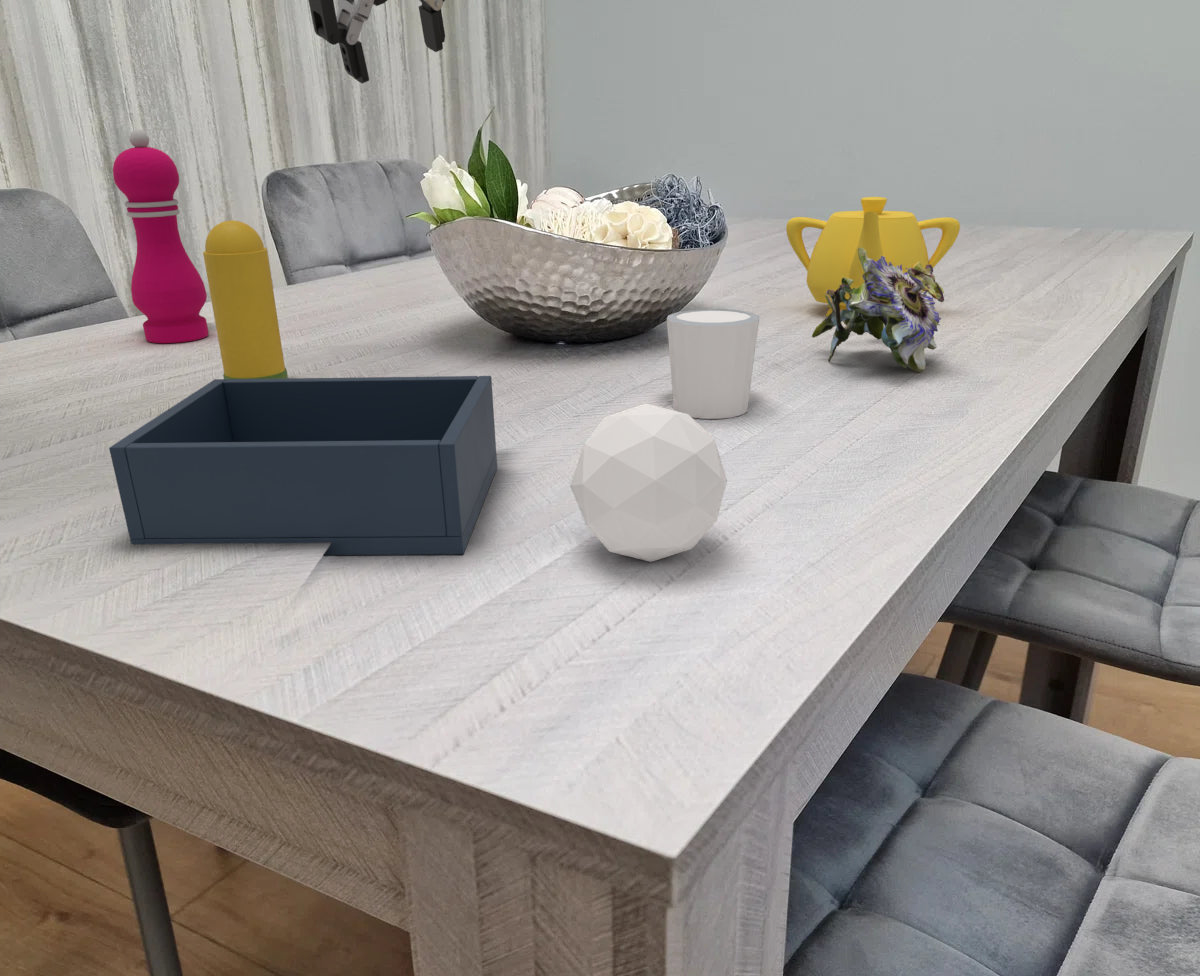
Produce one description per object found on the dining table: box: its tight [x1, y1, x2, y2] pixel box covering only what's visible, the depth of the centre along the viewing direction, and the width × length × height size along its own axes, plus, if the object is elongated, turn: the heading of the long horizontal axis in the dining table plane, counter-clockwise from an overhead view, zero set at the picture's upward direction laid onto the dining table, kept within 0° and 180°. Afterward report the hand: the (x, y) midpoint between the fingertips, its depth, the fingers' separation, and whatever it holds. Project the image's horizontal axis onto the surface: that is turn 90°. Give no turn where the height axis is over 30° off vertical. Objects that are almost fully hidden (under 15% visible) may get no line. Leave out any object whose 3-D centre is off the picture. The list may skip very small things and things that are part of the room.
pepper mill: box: [112, 128, 209, 344], centre depth 105 cm, size 7×7×20 cm
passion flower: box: [811, 247, 945, 373], centre depth 90 cm, size 11×11×12 cm
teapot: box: [785, 196, 961, 318], centre depth 112 cm, size 14×14×12 cm
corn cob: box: [202, 219, 289, 379], centre depth 83 cm, size 5×5×14 cm
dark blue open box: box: [108, 375, 498, 556], centre depth 60 cm, size 18×15×6 cm
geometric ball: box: [569, 403, 728, 563], centre depth 53 cm, size 8×8×8 cm
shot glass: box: [666, 308, 760, 420], centre depth 78 cm, size 7×7×7 cm
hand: (397, 64), depth 101 cm, fingers open, 8 cm apart
